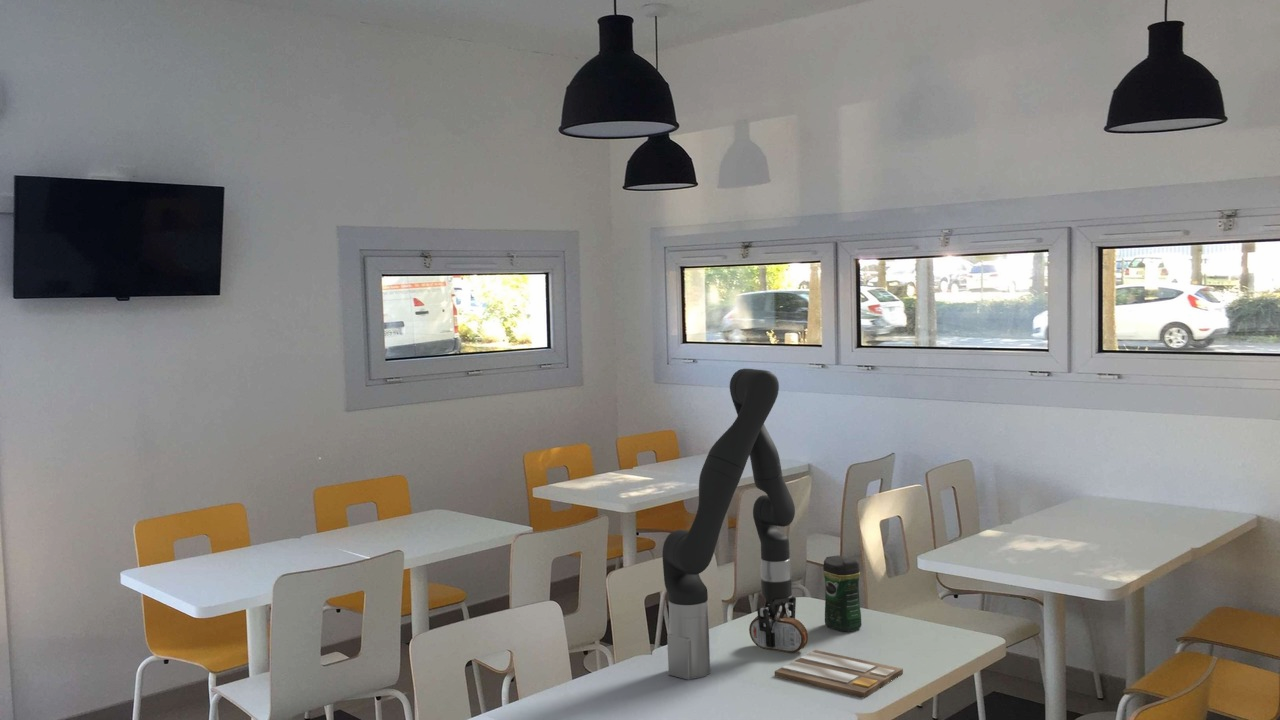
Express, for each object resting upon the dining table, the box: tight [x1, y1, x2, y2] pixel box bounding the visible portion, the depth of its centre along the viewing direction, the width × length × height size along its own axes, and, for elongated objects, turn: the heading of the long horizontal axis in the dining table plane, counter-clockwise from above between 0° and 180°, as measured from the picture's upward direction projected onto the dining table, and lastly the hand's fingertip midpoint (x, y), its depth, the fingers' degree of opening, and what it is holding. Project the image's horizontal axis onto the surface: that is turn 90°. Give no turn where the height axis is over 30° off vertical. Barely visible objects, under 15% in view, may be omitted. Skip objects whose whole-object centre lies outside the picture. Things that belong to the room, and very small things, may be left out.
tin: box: [748, 615, 809, 654], centre depth 254 cm, size 15×3×8 cm, turn 58°
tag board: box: [774, 649, 904, 699], centre depth 235 cm, size 18×23×2 cm
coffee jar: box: [822, 554, 862, 632], centre depth 270 cm, size 10×8×19 cm
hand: (778, 643), depth 254 cm, fingers open, 6 cm apart
